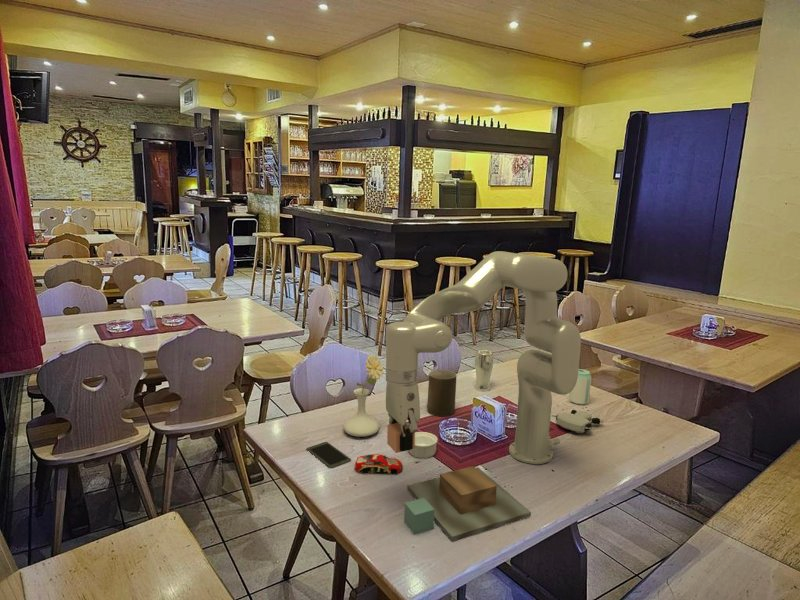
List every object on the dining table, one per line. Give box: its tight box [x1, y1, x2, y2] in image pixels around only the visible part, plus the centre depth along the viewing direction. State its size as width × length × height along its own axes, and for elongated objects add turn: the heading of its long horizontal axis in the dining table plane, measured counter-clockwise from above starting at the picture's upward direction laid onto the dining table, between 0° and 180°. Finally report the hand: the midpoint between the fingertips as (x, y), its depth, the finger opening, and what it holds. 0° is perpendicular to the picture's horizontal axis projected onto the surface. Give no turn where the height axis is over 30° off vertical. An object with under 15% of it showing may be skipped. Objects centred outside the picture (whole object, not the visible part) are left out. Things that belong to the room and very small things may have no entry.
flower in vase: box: [342, 354, 384, 438], centre depth 161 cm, size 13×11×25 cm
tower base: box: [406, 465, 532, 542], centre depth 127 cm, size 22×22×6 cm
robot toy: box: [551, 409, 604, 434], centre depth 171 cm, size 12×4×15 cm
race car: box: [354, 453, 404, 476], centre depth 141 cm, size 13×5×4 cm, turn 88°
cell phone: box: [305, 441, 352, 469], centre depth 148 cm, size 7×14×1 cm, turn 40°
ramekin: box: [408, 431, 439, 459], centre depth 151 cm, size 9×9×4 cm
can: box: [568, 368, 592, 406], centre depth 190 cm, size 7×7×12 cm
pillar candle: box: [426, 369, 457, 417], centre depth 179 cm, size 10×10×15 cm
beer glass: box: [474, 349, 494, 392], centre depth 201 cm, size 7×7×15 cm
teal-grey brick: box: [403, 498, 435, 535], centre depth 118 cm, size 5×5×5 cm
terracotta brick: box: [386, 420, 416, 454], centre depth 124 cm, size 5×5×5 cm
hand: (400, 444), depth 125 cm, fingers closed on terracotta brick, 4 cm apart
